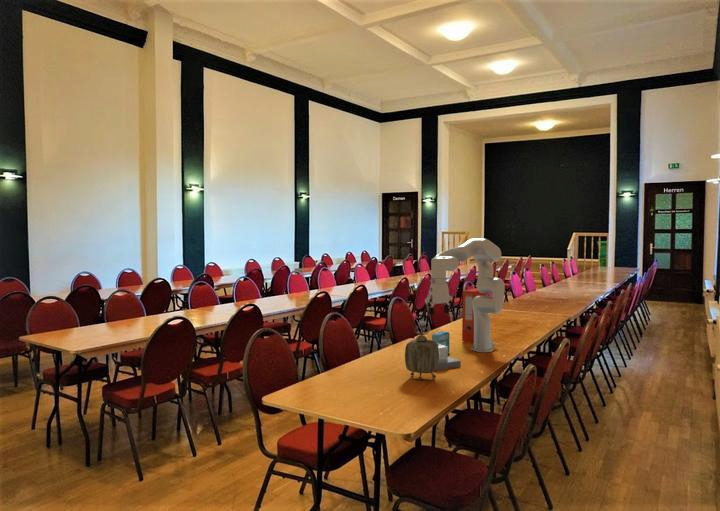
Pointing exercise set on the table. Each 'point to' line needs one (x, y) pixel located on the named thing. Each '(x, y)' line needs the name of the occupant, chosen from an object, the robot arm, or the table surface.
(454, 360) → the grey square tray
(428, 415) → the table surface
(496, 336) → the table surface
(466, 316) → the file binder
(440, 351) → the block
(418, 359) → the tabletop clock
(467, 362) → the table surface
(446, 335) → the data package
